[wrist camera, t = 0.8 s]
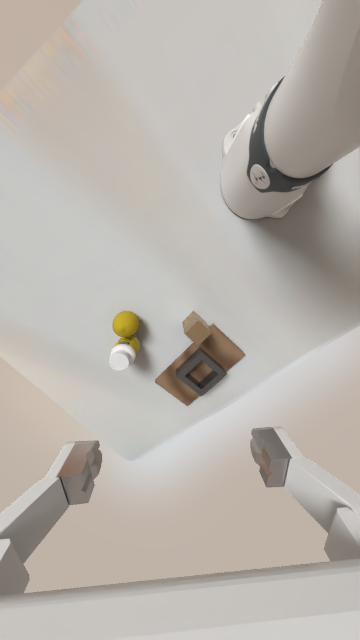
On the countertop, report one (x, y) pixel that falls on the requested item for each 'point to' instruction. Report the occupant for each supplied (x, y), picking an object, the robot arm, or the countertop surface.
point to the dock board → (200, 364)
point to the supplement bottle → (124, 352)
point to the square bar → (196, 328)
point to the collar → (209, 380)
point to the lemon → (125, 324)
